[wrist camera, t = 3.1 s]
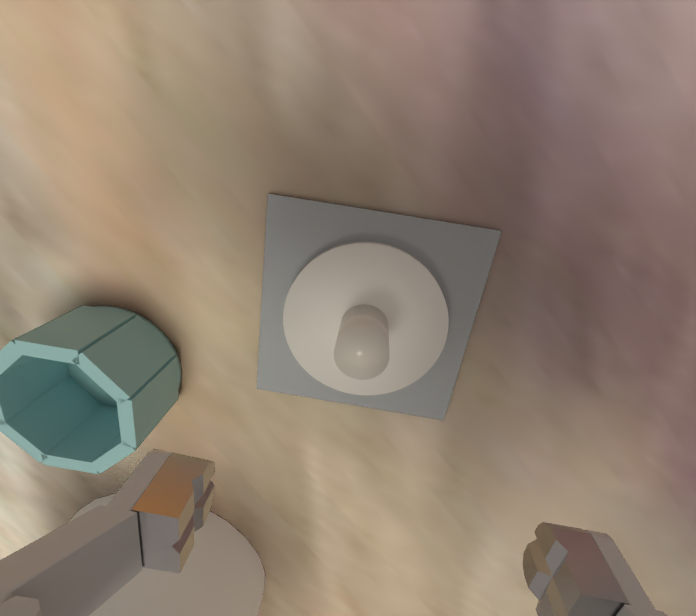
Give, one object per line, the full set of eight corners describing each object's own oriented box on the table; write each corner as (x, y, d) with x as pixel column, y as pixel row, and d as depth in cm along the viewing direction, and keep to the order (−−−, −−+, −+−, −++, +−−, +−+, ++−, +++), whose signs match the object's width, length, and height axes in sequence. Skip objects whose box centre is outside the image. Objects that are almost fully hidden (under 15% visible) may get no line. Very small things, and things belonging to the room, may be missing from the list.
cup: (179, 317, 22) (127, 358, 18) (183, 422, 25) (139, 481, 21) (50, 295, 22) (-35, 331, 18) (70, 402, 25) (1, 457, 21)
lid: (463, 254, 19) (484, 279, 15) (426, 396, 23) (436, 445, 19) (292, 229, 19) (270, 247, 15) (282, 373, 23) (262, 417, 19)
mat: (499, 230, 19) (501, 231, 19) (442, 417, 23) (443, 420, 23) (269, 193, 19) (267, 193, 19) (258, 385, 24) (256, 388, 23)
